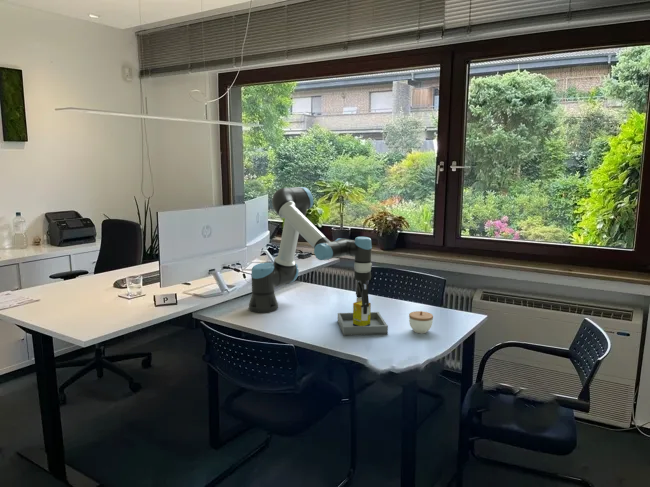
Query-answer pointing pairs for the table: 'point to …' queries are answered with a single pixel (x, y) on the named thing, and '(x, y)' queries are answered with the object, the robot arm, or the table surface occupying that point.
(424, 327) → the lidded jar
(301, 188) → the robot arm
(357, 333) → the desk tray
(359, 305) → the supplement box
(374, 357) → the table surface
